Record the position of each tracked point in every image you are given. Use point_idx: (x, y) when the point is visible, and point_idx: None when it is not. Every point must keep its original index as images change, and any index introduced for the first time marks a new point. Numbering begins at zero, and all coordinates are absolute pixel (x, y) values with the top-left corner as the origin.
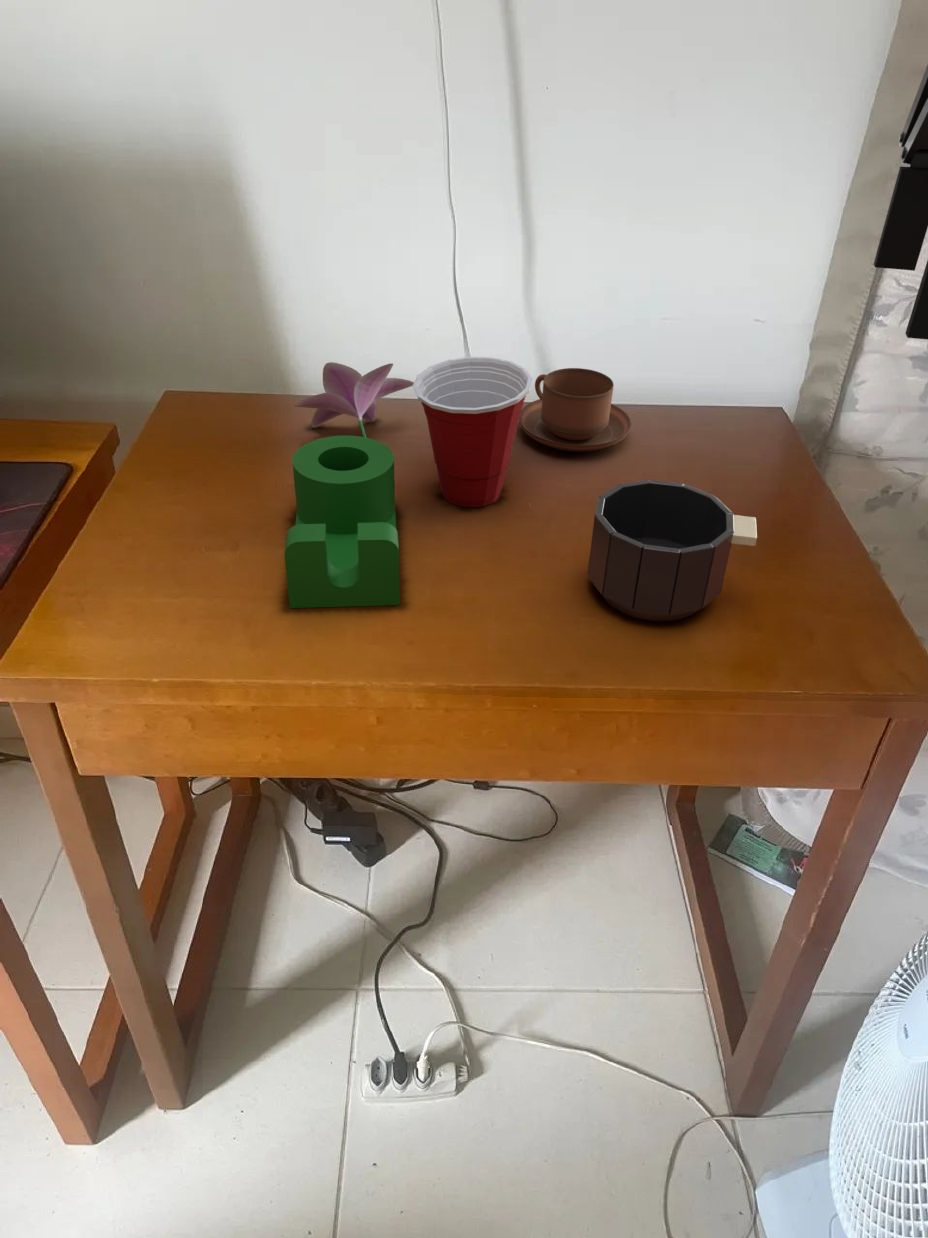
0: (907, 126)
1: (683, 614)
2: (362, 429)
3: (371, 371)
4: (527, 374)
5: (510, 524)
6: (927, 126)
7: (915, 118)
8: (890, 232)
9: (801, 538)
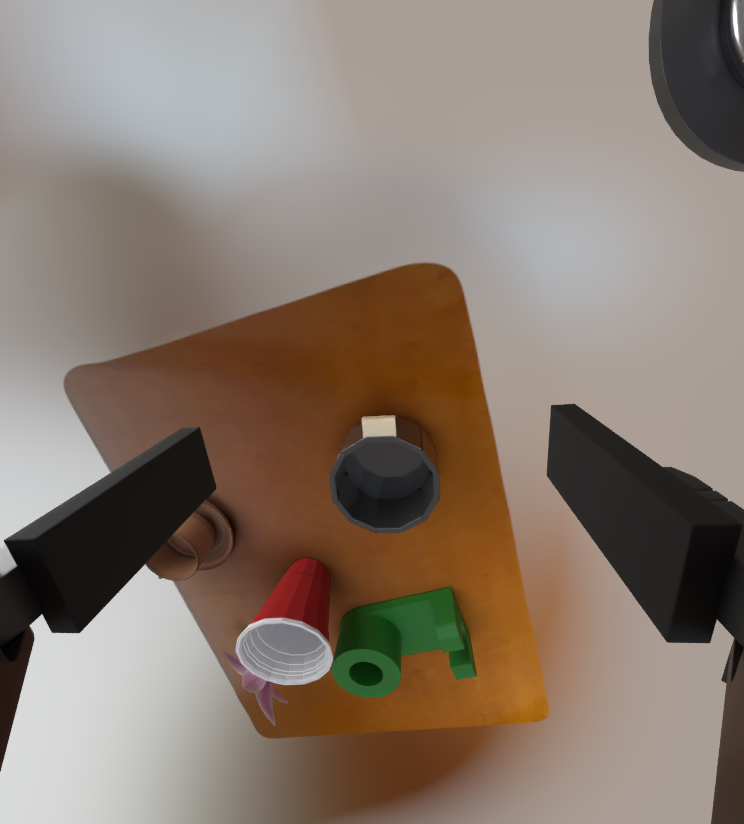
0: None
1: None
2: None
3: (252, 691)
4: (257, 625)
5: (339, 546)
6: None
7: None
8: (178, 515)
9: (276, 351)
